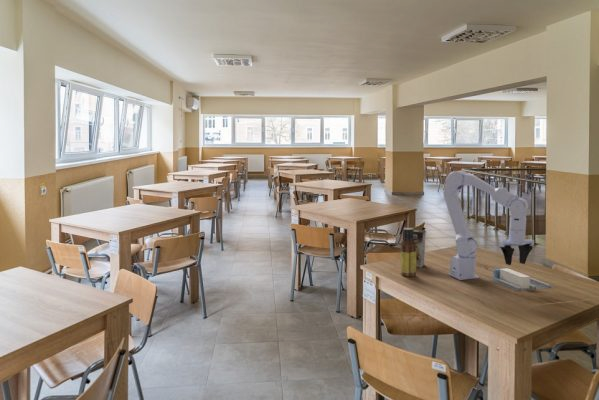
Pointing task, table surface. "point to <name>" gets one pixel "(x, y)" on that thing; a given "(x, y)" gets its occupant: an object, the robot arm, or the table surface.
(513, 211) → the robot arm
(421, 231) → the coffee box
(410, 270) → the sauce bottle
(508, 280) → the cream rectangular block
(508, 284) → the board
